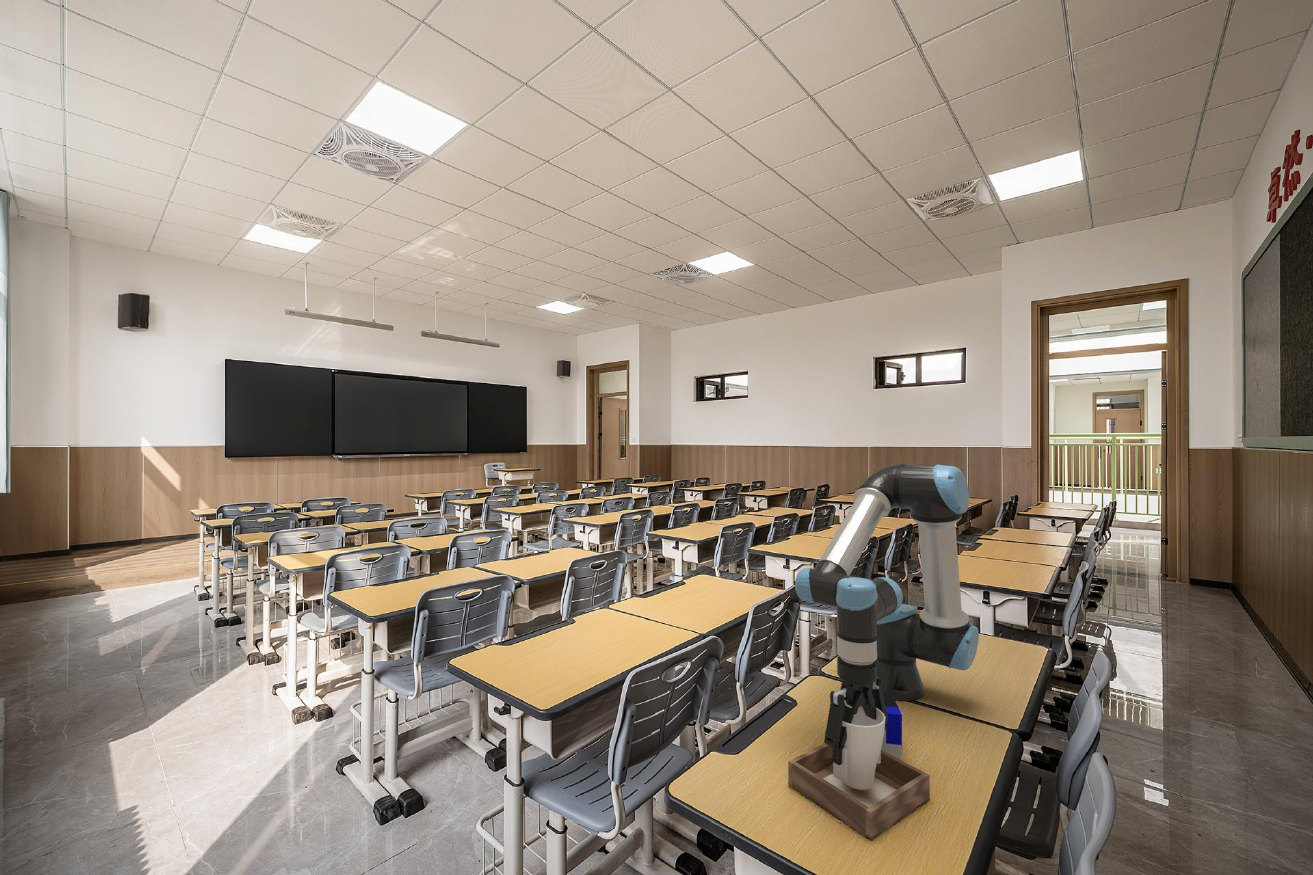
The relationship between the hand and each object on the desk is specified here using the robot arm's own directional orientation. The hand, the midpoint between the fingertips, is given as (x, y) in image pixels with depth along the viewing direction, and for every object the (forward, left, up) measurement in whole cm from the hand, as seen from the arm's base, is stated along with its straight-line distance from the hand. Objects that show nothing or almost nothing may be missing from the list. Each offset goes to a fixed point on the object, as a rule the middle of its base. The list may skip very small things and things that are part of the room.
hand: (857, 769), depth 111 cm
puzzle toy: (-18, -8, -5) cm, 20 cm away
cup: (0, 0, -2) cm, 2 cm away
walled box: (0, 0, -5) cm, 5 cm away
